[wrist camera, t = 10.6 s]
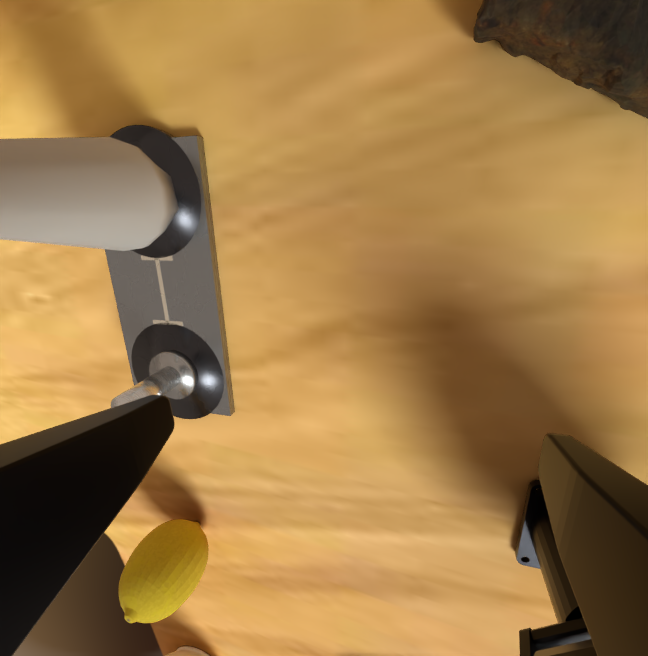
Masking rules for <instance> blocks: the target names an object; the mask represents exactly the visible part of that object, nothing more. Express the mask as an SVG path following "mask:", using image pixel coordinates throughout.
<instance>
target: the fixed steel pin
mask: <svg viewBox="0 0 648 656" xmlns="http://www.w3.org/2000/svg"><path fill="white" fill-rule="evenodd" d="M149 374H150V376H149V377H148V378H146V379H144V380H143V381H141V382H140V383H138V384H136V385H135V386H133V387H131V388H130V389H128V390H127V391H125V392H123V393H122V394H120V395H119V396H117V397H115V398H114V399H113V400H112V401H111V408H113V407H116V406H119V405H122V404H125V403H128V402H131V401H134V400H137V399H140V398H143V397H146V396H149V395H162V396H164V395H165V396H167V397H169V398H172V399H183V398H185V397H187V396H188V395H189V394H191V393H192V392H193V391H194V390H195V389H196V387H197V385H198V372H197V369H196V367H195V365H194V364H193V362H192V361H191V360H190V359H189V358H188V357H187V356H186V355H185V354H183V353H181V352H179V351H176V350H166V351H163V352H161V353H159V354H157V355H156V356H154V357H153V358H152V360H151V362H150V365H149Z"/></svg>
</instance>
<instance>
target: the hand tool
mask: <svg viewBox="0 0 648 656" xmlns="http://www.w3.org/2000/svg"><path fill="white" fill-rule="evenodd" d="M477 16H478V17H477V20H476V24H475V27H474V41H475V42H478V43H483V42H486V41H489V40H493V39H495V40H497V41H499V42H500V44H501V45H502V47H503V48H504V49H505V51H506V52H507V53H509V54H510V55H512V56H514V57H517V56H520V55H526V56H529V57H531V58H532V59H534V60H536V61H538V62H539V63H541V64H543V65H545V66H546V67H548V68H551V69H552V70H553V71H554V72H555V73H556V74H558V75H559V76H561V77H562V78H565V79H568V80H570V81H572V82H574V83H575V84H576V85H578V86H581V87H584V88H587V89H589V88H592V89H594V90H595V91H597V92H599V93H601V94H604V95H606V96H608V97H610V98H611V99H613V100H614V101H616V102H617V103H619V105H620V107H621V108H623V109H624V110H631V111H633V112H635V113H637V114H639V115H642V116H644V117H646V118H648V0H484V1H483V3H482V6H481V8H480V10H479V12H478V14H477Z"/></svg>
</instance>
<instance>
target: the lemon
mask: <svg viewBox="0 0 648 656" xmlns="http://www.w3.org/2000/svg"><path fill="white" fill-rule="evenodd" d="M207 560H208V542H207V538H206V536H205V534H204V532H203V530H202V529H201V527H200V524H199V523H198V522H196V521H194V522H192V521H189V520H185V519H175V520H171V521H168V522H165V523H163V524H161V525H159V526H158V527H156V528H155V529H154V530H152V531H151V532H150V533H149V534H148V535H147V536H146V537H145V538H144V539H143V540H142V541H141V542H140V543H139V545H138V546H137V547H136V548H135V550H134V551H133V553H132V555H131V556H130V558H129V560H128V562H127V563H126V566H125V568H124V570H123V573H122V575H121V578H120V582H119V600H120V604H121V607H122V609H123V611H124V613H125V617H124V618H125V620H126V621H127V622H128V623H133V622H140V623H153V622H157V621H160V620H162V619H165V618H167V617H168V616H170V615H171V614H172V613H174V612H175V611H176V610H177V609H178V608H179V607H180V606H181V605H182V604H183V603H184V602H185V601H186V600H187V598H188V597H189V596H190V595H191V594H192V592H193V591H194V589H195V588H196V586H197V585H198V583H199V581H200V579H201V577H202V575H203V572H204V570H205V567H206V564H207Z"/></svg>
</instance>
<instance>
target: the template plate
mask: <svg viewBox="0 0 648 656" xmlns="http://www.w3.org/2000/svg"><path fill="white" fill-rule="evenodd" d="M110 137H111V138H114V139H117V140H120V141H123V142H125V143H128V144H131V145H134V146H136V147H138V148H139V149H140V150H141V151H142V152H143V153H145V154H146V155H147V156H148V157H149V158H150V159H151V160H152V161H153V162H154V163H155V164H156V165H157V166H158V167H160V168H161V169H162V170H163V171H164V172H166V173H167V174H168V175H169V176H171V179H172V183H173V187H174V191H175V195H176V199H177V203H178V207H179V210H178V211H177V213H176V214H175V216H174V218H173V219H172V221H171V222H170V224H169V226H168V227H167V229H166V230H165V232H164V233H162V234H161V235H160V236H159V237H158V238H157V239H156V240H155V241H153V242H152V243H151V244H150V245H149V246H147V247H144V248H141V249H134V250H127V251H118V250H108V249H105V252H106V257H107V261H108V266H109V271H110V275H111V280H112V284H113V289H114V294H115V298H116V303H117V308H118V312H119V317H120V322H121V326H122V331H123V336H124V340H125V345H126V350H127V354H128V359H129V363H130V368H131V373H132V377H133V382H134V386H135V385H136V384H138V383H140V382H141V381H143V380H144V379H146V378H148V377H149V376H150V374H149V365H150V362H151V360H152V358H153V357H154V356H156V355H157V354H159V353H161V352H163V351H166V350H176V351H179V352H181V353H183V354H185V355H186V356H187V357H188V358H189V359H190V360H191V361H192V362H193V364H194V365H195V367H196V369H197V372H198V385H197V387H196V389H195V390H194V391H193V392H192V393H191V394H189V395H188V396H187V397H185V398H183V399H172V398H169V397H167V396H166V397H167V398H168V399H169V401H170V405H171V409H172V414H173V416H176V417H179V418H184V419H197V418H201V417H204V416H206V415H208V414H210V413H213V414H220V415H227V416H231V415H232V414H233V413H234V412H235V410H234V401H233V393H232V384H231V376H230V367H229V359H228V350H227V341H226V333H225V324H224V316H223V307H222V299H221V290H220V281H219V273H218V264H217V256H216V247H215V239H214V230H213V222H212V213H211V204H210V196H209V187H208V179H207V170H206V162H205V153H204V144H203V137H199V136H186V137H173V136H172V135H170V134H168V133H166V132H164V131H162V130H159V129H156V128H153V127H149V126H144V125H132V126H127V127H124V128H122V129H120V130H118V131H116V132H115V133H114V134H112V135H111V136H110ZM164 396H165V395H164Z"/></svg>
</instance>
